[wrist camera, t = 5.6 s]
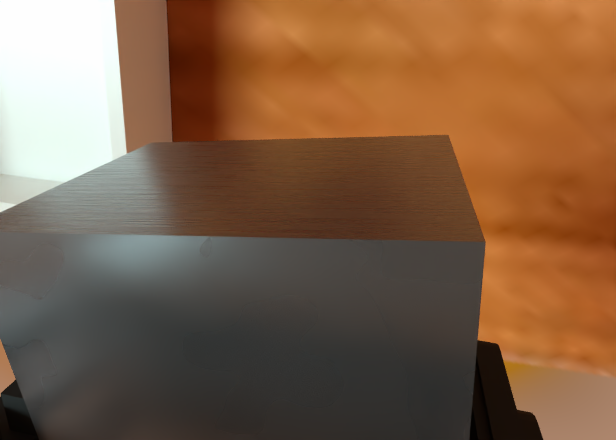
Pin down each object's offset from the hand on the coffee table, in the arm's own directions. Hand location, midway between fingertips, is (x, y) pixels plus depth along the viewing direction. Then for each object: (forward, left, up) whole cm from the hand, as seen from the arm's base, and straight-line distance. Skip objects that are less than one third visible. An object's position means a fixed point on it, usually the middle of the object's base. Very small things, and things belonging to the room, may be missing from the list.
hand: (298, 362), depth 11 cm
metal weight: (0, 0, -1) cm, 1 cm away
